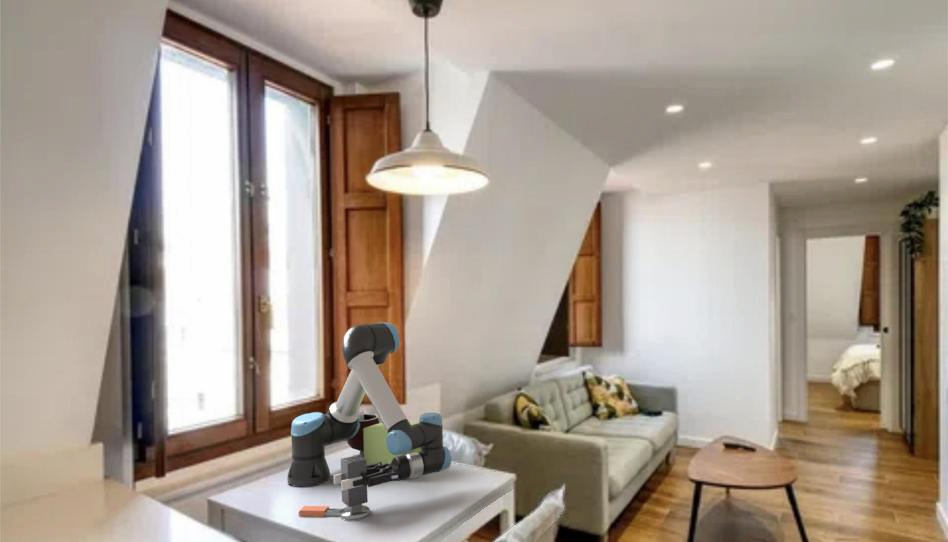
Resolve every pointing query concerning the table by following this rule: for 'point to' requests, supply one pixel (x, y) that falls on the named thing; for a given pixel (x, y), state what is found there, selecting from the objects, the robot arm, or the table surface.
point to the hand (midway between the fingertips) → (337, 482)
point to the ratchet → (336, 512)
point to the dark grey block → (353, 469)
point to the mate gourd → (362, 431)
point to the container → (379, 445)
